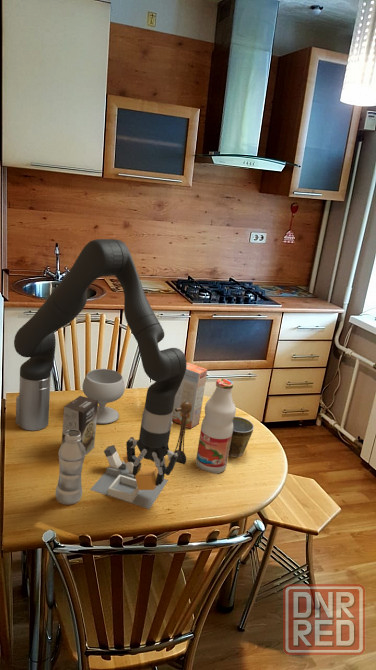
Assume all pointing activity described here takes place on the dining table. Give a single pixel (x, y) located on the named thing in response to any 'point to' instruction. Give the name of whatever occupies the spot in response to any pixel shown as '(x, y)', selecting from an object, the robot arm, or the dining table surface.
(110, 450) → the breaker
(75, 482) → the plastic bottle
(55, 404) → the dining table surface
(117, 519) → the dining table surface
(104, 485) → the panel
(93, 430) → the coffee box
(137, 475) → the orange cube
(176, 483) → the dining table surface
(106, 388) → the chalice
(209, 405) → the fruit juice
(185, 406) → the wooden tabletop sculpture
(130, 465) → the block
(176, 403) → the cracker box
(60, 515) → the dining table surface
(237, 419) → the ceramic cup
